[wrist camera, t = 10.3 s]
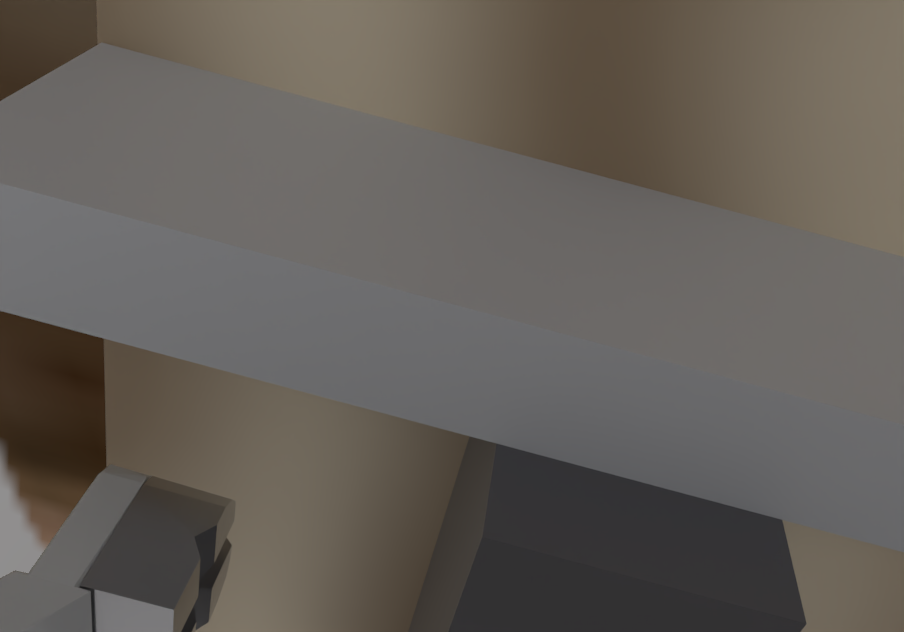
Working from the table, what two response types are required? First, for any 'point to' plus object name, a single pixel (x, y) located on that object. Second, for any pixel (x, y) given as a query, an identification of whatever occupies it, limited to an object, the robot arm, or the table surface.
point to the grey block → (483, 334)
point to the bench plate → (541, 137)
